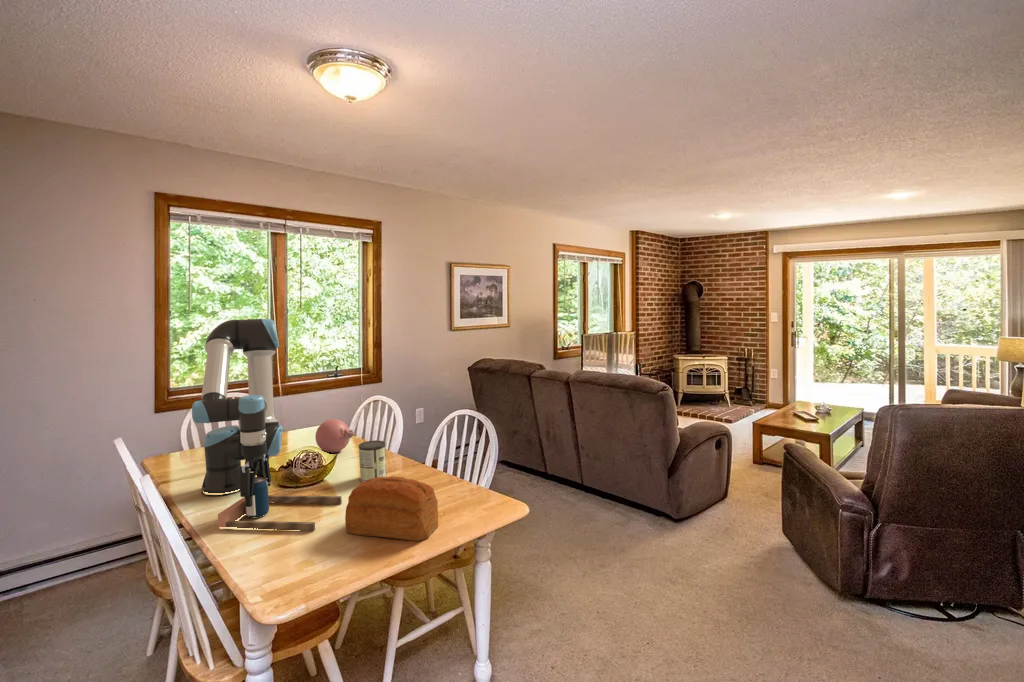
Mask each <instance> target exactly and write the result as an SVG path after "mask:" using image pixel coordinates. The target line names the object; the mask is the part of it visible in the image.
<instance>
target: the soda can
mask: <svg viewBox="0 0 1024 682" xmlns="http://www.w3.org/2000/svg"><path fill="white" fill-rule="evenodd" d="M253 495H255V509H256V515H255V516H249V517H260V516H263V515H265V514H266V515H268V513H269V510H270V503H269V498H268V495H269V486H268V483H267V481H266V480H265V478H264V477H257V476H255V483H254V491H253ZM245 505H246V500H245ZM266 515H265V516H266ZM249 517H248V518H249ZM263 517H264V516H263ZM260 518H261V517H260Z"/></svg>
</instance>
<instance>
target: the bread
mask: <svg viewBox="0 0 1024 682" xmlns="http://www.w3.org/2000/svg"><path fill="white" fill-rule="evenodd" d="M347 498H348V503H347V505H346V506H345V517H344V519H345V521H344V522H345V529H346V532H347V533H349V534H351V535H356V536H367V537H377V538H378V537H379V538H387V539H388V538H389V539H396V540H404V541H414V542H419V541H420V542H422V541H425V540H427V539H429V537H430V536H431V535H432V534H433V533H434V532H435V531H436V530H437V528H438V527H439V511H438V509H439V507H438V498H437V496H436V493H435V490H434V488H433V486H431V485H429V484H427V483H425V482H422V481H418V480H415V479H411V478H407V477H406V478H405V477H403V476H387V477H377V478H372V479H369V480H366V481H365V482H361V484H358V486H356V487H355V488H354V489H352V491H351V493H350V494H349V496H348V497H347Z"/></svg>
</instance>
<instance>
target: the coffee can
mask: <svg viewBox="0 0 1024 682" xmlns="http://www.w3.org/2000/svg"><path fill="white" fill-rule="evenodd" d="M358 455H359V474H360V476H359V477H360V479H359V480H361V481H362V482H361V481H360V482H361V483H363V482H365V481H366V480H369V479H372V478H377V477H388V476H387V459H386V458H387V457H386V455H387V454H386V442H385V441H384V440H368V441H363V442H360V443H359V444H358Z"/></svg>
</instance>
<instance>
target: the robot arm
mask: <svg viewBox="0 0 1024 682" xmlns="http://www.w3.org/2000/svg"><path fill="white" fill-rule="evenodd" d="M204 344H205V346H204V351H205V352H206V360H205V367H204V368H205V369H204V375H203V382H202V383H203V384H202V389H201V390H202V392H201V397H200V398H201V400H196V401H194V402H193V403H192V405H191V417H192V421H193V423H195V424H213V423H220V422H221V423H222V422H232V421H233V422H236V421H239V426H238V425H227V426H221V427H218V428H214V429H212V430H210V431H208V432H207V433H206V434H205V435H204V439H203V440H204V441H203V442H204V443H203V448H204V458H205V473H204V479H203V481H202V485H201V491H202V490H203V491H204V492H208V493H225V492H231V491H235V490H238V489H240V491H239V493H240V495H239V496H240V497H241V498H243V497H245V500H246V517H248V516H255V515H256V509H255V495H253V491H254V483H255V477H264V478H265V480H266V481H267V483H268V487H271V482H272V479H271V478H272V477H271V469H270V461H269V460H270V458H271V457H276V456H278V455H280V453H281V449H282V440H283V428H284V427H283V425H281V424H280V425H279V420H278V419H276V418H275V410H274V386H273V385H274V384H273V382H274V380H273V361H272V358H273V357H272V356H274V355H275V354H276V351H277V350H276V349H278V348H279V347H280V343H279V337H278V331H277V327H276V323H275V321H274V320H273V319H269V318H268V319H267V318H253V319H252V318H251V319H250V318H249V319H248V318H247V319H246V318H245V319H229V320H226V321H224V322H221V323H220V324H218V325H217V326H216V327H215V328H214V329H212V331H211V332H210V333H209V334H208V336H207V339H206V340H205V343H204ZM235 350H242V354H243V355H244V356H245V357H246V358H247V380H248V395H244V396H241V397H236V398H234V397H233V398H227V397H228V385H229V378H230V377H229V376H230V375H229V374H230V363H231V356H232V355H233V353H234V351H235ZM242 461H244V465H242Z"/></svg>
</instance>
